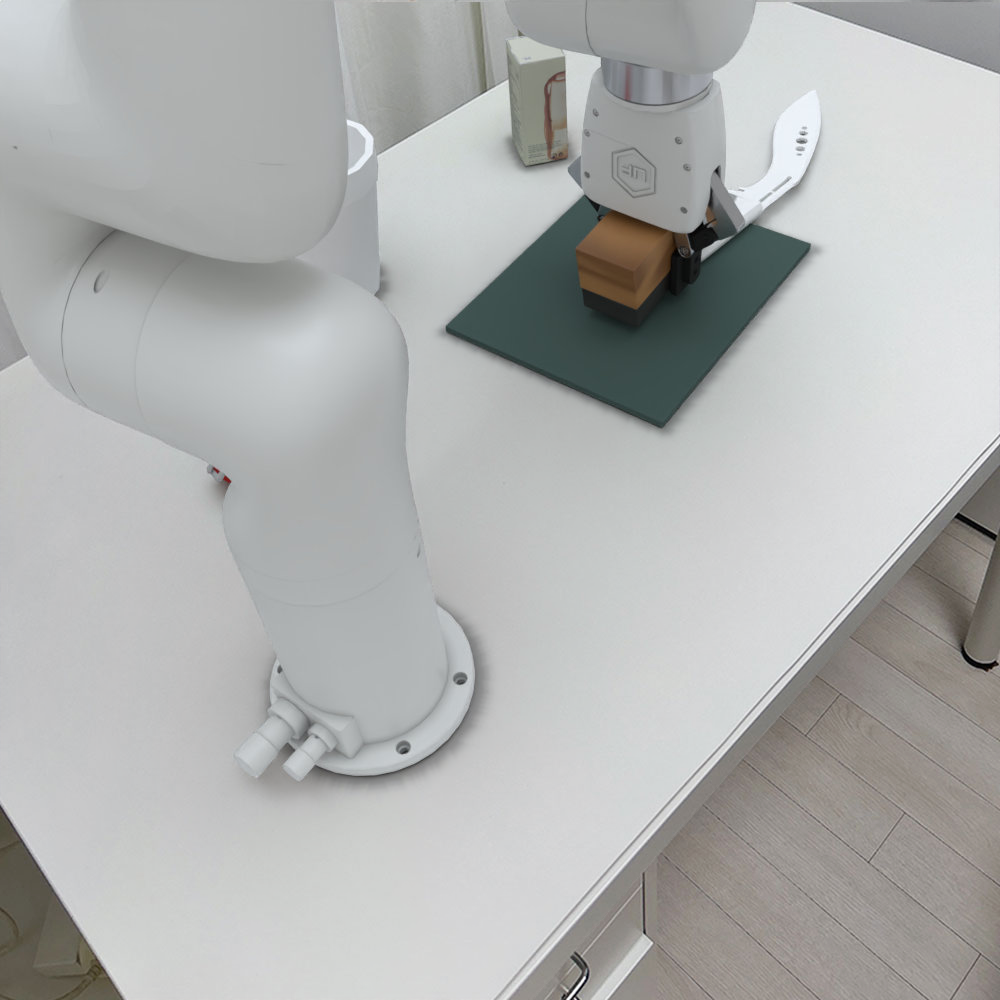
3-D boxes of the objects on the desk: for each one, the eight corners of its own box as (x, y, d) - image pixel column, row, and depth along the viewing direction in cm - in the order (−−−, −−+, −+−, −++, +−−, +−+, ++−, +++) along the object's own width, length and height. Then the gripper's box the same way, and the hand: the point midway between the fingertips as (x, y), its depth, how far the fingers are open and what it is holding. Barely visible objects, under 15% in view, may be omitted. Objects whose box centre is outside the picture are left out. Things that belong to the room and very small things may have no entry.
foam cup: (420, 274, 93) (399, 138, 83) (349, 337, 89) (317, 201, 79) (337, 238, 97) (307, 104, 87) (265, 297, 93) (224, 163, 83)
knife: (814, 80, 105) (887, 104, 101) (811, 96, 106) (884, 121, 103) (614, 225, 92) (690, 260, 88) (614, 242, 93) (688, 277, 89)
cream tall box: (570, 159, 103) (567, 56, 95) (524, 168, 102) (517, 66, 94) (555, 129, 106) (551, 28, 98) (511, 138, 105) (503, 37, 98)
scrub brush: (638, 328, 85) (633, 271, 80) (582, 305, 87) (574, 248, 82) (719, 232, 89) (719, 172, 84) (663, 213, 92) (660, 153, 87)
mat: (662, 428, 80) (662, 422, 80) (445, 331, 89) (445, 326, 88) (810, 249, 92) (811, 243, 91) (606, 178, 100) (606, 173, 100)
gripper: (522, 56, 76) (537, 262, 91) (742, 126, 69) (721, 339, 83) (583, 7, 80) (588, 213, 94) (799, 69, 73) (769, 282, 87)
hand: (650, 270), depth 88 cm, fingers closed on scrub brush, 5 cm apart
